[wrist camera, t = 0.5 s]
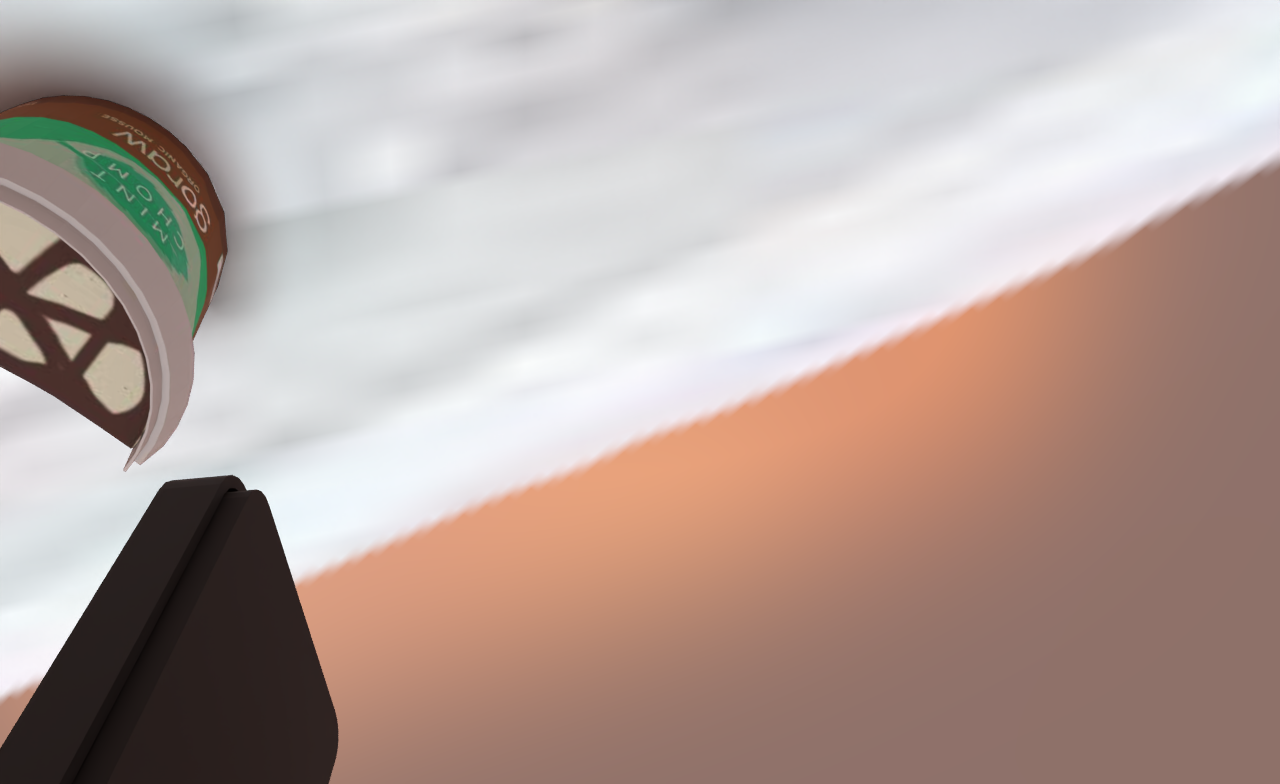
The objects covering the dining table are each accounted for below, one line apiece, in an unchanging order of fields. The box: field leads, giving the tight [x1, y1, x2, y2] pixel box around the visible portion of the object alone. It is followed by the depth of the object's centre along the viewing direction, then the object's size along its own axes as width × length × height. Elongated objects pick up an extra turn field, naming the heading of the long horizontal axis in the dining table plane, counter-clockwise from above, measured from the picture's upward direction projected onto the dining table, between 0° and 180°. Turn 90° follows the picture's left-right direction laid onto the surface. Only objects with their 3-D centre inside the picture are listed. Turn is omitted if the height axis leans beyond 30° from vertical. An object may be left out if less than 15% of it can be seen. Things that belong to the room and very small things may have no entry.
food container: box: [0, 95, 227, 472], centre depth 38 cm, size 12×6×10 cm, turn 46°
